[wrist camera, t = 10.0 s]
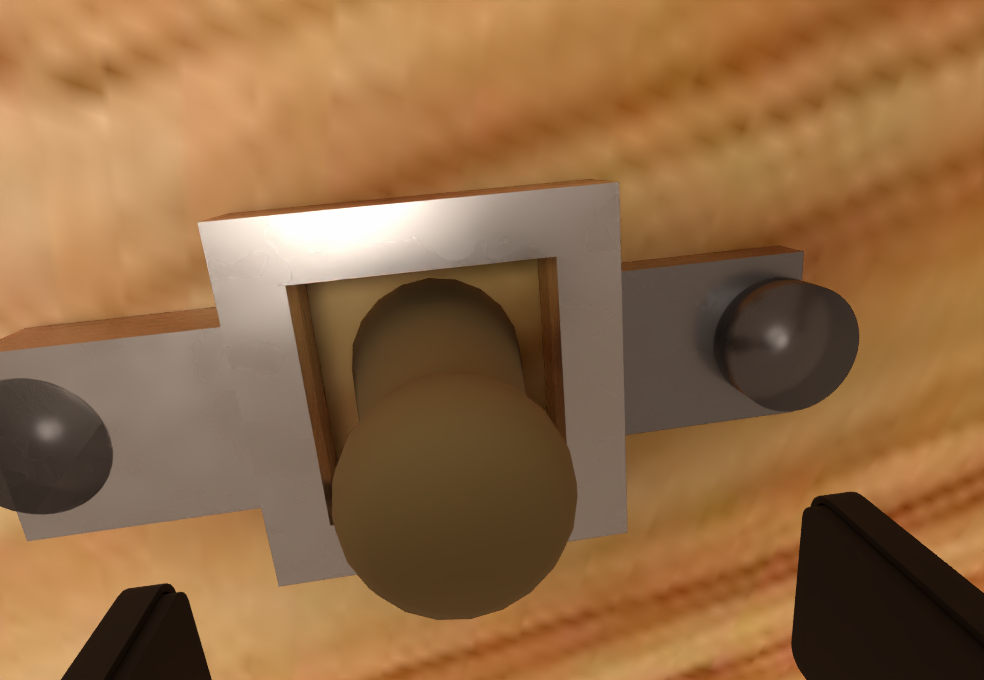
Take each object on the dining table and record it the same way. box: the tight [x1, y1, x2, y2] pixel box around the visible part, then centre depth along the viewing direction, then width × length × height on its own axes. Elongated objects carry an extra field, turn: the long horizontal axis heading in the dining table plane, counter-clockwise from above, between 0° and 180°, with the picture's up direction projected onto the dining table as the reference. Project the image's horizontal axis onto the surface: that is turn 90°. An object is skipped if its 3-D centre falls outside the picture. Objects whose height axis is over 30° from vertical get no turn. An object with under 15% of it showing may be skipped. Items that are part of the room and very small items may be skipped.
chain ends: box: [0, 179, 859, 587], centre depth 21 cm, size 28×12×3 cm, turn 95°
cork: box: [332, 278, 578, 620], centre depth 17 cm, size 6×6×11 cm
